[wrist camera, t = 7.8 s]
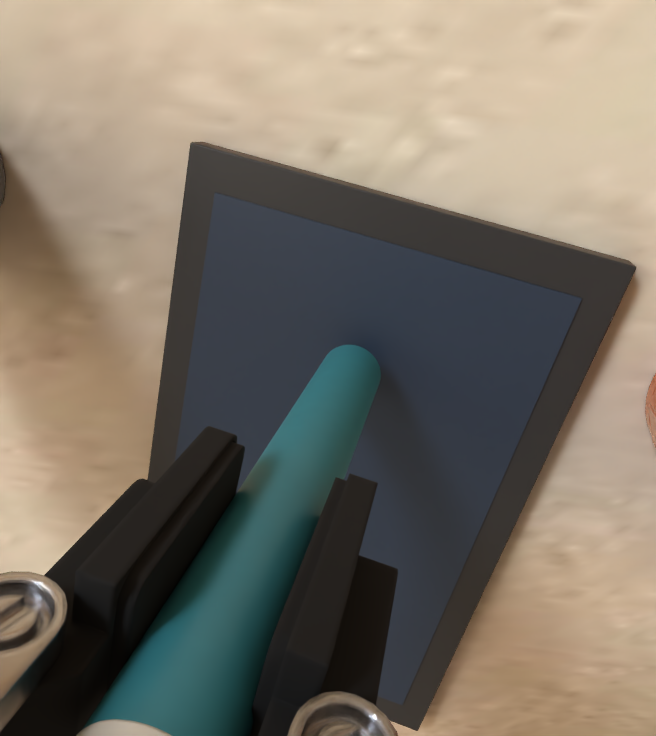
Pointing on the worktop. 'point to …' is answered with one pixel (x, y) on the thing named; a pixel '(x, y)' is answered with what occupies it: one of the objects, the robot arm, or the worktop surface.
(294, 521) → the stylus
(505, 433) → the tablet
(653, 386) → the holder
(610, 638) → the worktop surface
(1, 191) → the beverage cup
